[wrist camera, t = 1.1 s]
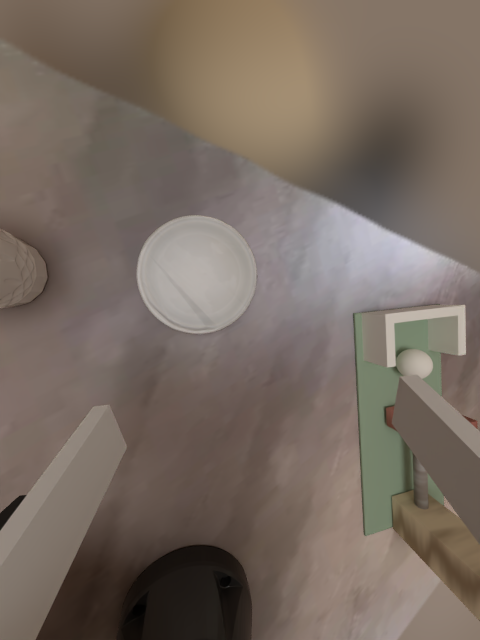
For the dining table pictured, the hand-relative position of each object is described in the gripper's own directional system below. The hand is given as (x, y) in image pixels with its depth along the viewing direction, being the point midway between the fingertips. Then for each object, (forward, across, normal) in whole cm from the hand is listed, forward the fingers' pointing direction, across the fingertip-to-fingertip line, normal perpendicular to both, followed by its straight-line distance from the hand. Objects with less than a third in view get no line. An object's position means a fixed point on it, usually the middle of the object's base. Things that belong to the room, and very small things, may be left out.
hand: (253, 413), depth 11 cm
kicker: (+15, -20, +27) cm, 37 cm away
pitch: (+18, -20, +21) cm, 34 cm away
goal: (+22, -21, +8) cm, 32 cm away
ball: (+19, -21, +12) cm, 31 cm away
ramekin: (+19, +5, -2) cm, 20 cm away
